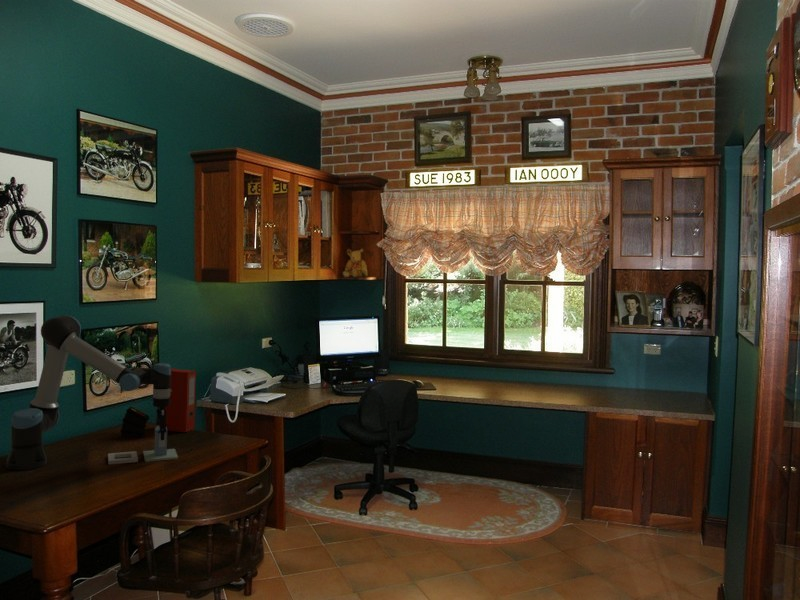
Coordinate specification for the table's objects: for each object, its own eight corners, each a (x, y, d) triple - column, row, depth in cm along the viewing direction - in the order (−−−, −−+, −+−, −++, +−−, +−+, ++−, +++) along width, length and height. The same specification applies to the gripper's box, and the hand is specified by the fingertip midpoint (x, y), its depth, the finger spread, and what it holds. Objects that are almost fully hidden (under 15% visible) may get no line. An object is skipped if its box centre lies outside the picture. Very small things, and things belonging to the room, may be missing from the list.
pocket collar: (108, 464, 282) (108, 461, 282) (108, 456, 293) (108, 453, 293) (137, 461, 287) (137, 458, 287) (136, 454, 298) (136, 451, 298)
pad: (145, 461, 288) (145, 459, 288) (143, 453, 300) (143, 451, 300) (178, 459, 294) (178, 456, 294) (174, 450, 306) (174, 448, 306)
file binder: (166, 426, 351) (168, 368, 350) (194, 429, 347) (196, 370, 345) (157, 429, 343) (158, 370, 342) (185, 432, 339) (187, 372, 337)
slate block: (155, 455, 294) (155, 430, 293) (154, 452, 298) (154, 427, 298) (166, 455, 296) (167, 429, 295) (165, 452, 300) (166, 426, 300)
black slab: (117, 431, 330) (130, 406, 329) (140, 443, 330) (153, 418, 329) (114, 433, 326) (127, 407, 325) (137, 445, 326) (150, 419, 325)
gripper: (173, 402, 286) (172, 449, 287) (167, 391, 309) (166, 435, 310) (155, 403, 283) (154, 450, 284) (150, 392, 305) (150, 436, 306)
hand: (160, 442), depth 297 cm, fingers open, 13 cm apart
